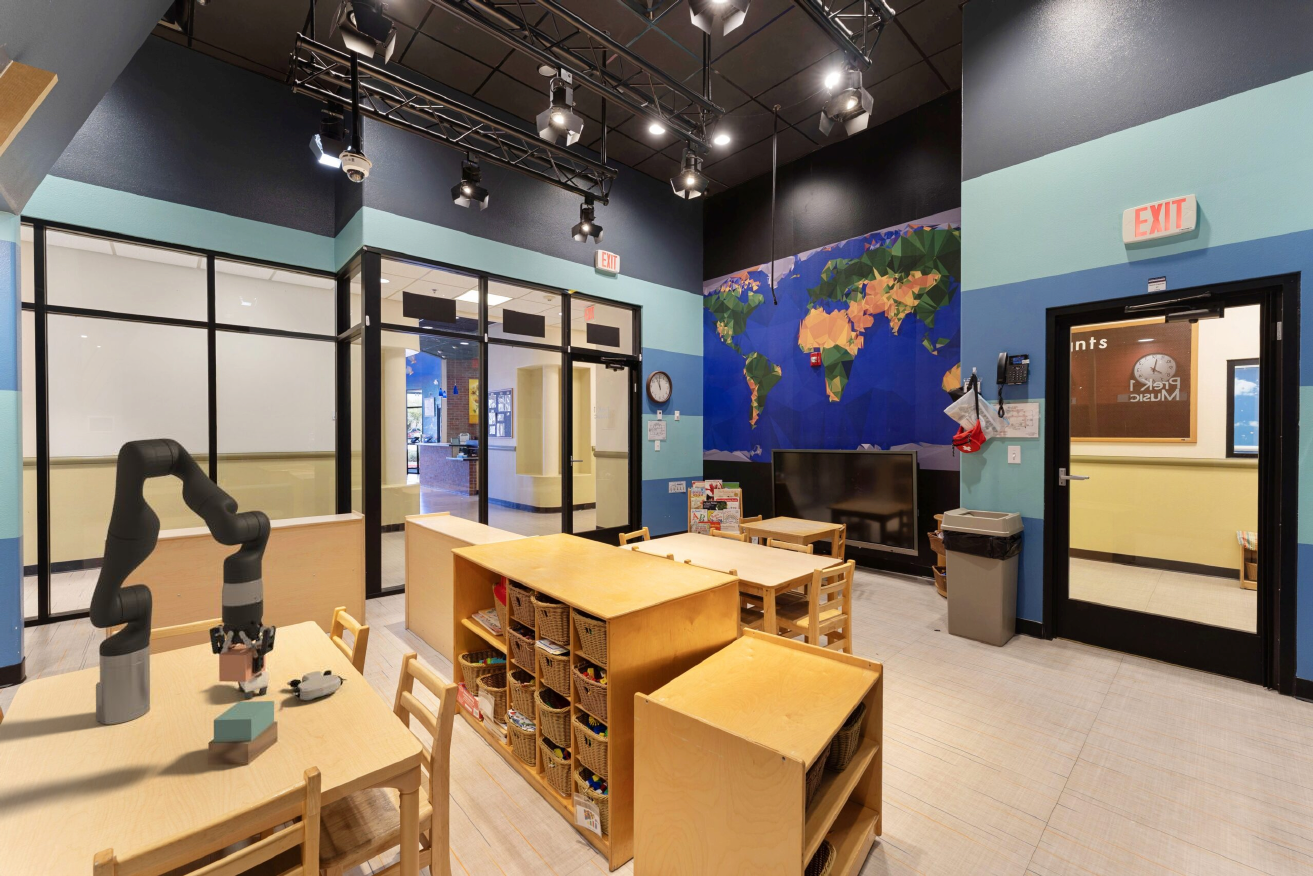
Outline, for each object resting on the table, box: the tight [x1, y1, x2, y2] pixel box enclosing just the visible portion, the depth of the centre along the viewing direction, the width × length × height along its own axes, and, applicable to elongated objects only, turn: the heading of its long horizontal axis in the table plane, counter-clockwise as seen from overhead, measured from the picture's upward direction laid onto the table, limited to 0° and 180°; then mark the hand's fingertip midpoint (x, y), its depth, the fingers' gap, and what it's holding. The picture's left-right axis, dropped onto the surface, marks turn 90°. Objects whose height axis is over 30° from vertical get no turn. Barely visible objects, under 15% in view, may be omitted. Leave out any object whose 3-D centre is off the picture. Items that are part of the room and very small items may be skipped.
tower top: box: [213, 700, 275, 742], centre depth 124 cm, size 8×8×5 cm
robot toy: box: [286, 669, 348, 701], centre depth 153 cm, size 12×4×15 cm
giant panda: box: [237, 668, 270, 701], centre depth 153 cm, size 15×6×10 cm, turn 50°
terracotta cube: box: [218, 644, 267, 683], centre depth 124 cm, size 6×6×6 cm
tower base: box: [207, 721, 278, 766], centre depth 124 cm, size 9×9×5 cm
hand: (243, 671), depth 124 cm, fingers closed on terracotta cube, 6 cm apart
